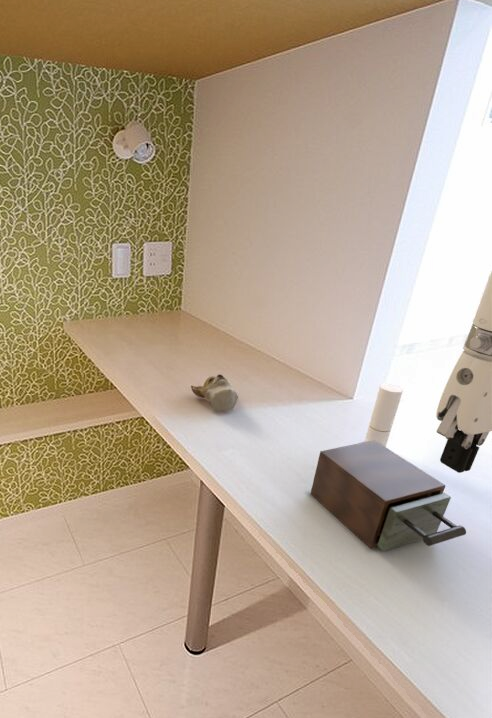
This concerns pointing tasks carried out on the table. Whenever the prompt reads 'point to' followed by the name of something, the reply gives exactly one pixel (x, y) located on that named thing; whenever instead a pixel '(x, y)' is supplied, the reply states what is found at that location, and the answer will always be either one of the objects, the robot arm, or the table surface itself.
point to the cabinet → (367, 485)
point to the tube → (384, 413)
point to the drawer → (417, 522)
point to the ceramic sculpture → (217, 393)
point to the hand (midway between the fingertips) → (454, 466)
